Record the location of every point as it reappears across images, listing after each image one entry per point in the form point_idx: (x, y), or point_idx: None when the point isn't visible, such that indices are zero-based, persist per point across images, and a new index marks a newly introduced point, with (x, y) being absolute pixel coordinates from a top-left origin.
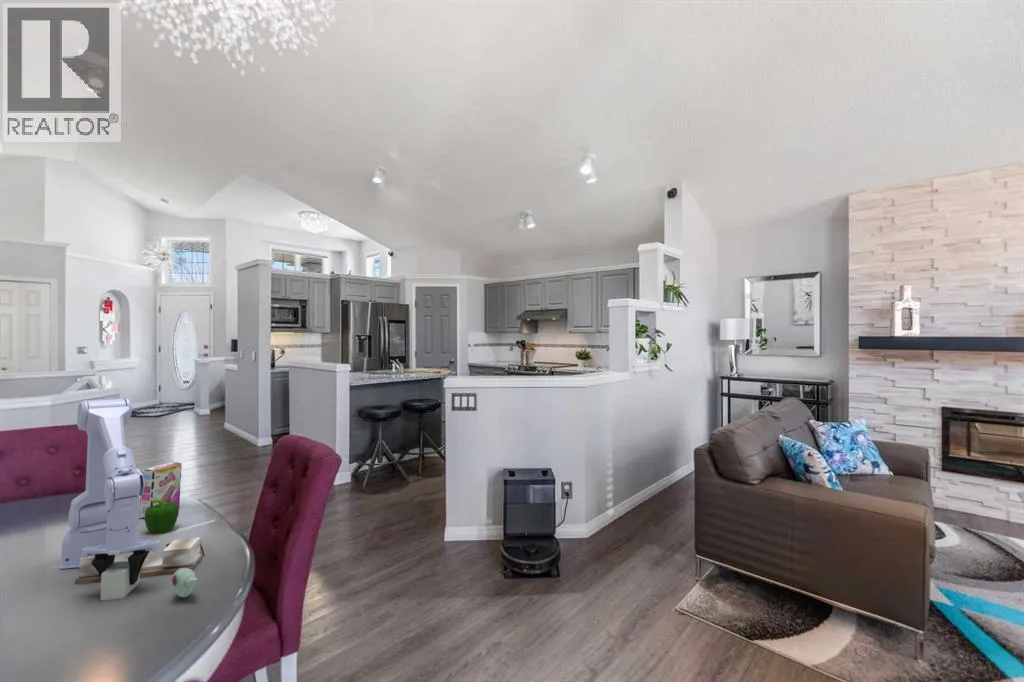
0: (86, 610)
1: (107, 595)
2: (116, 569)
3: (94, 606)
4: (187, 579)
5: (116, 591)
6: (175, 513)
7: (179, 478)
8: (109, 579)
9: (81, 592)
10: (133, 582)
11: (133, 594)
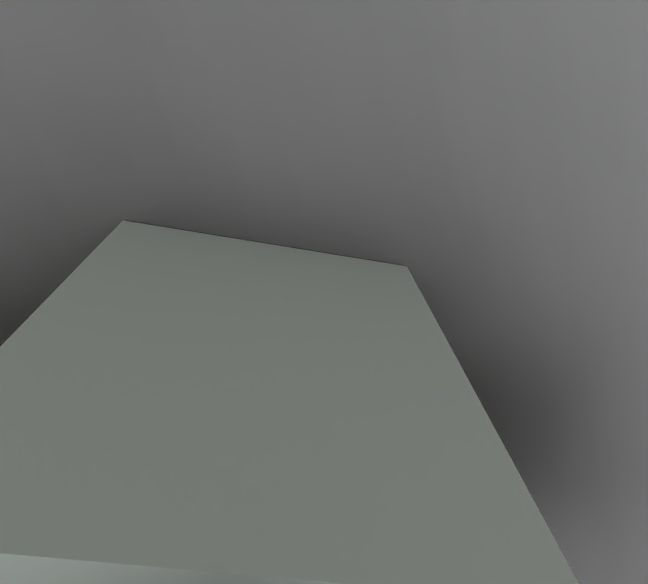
0: (520, 14)
1: (331, 274)
2: None
3: (441, 110)
4: None
5: (204, 273)
6: None
7: None
8: (330, 430)
9: (631, 547)
10: None
11: (30, 278)
